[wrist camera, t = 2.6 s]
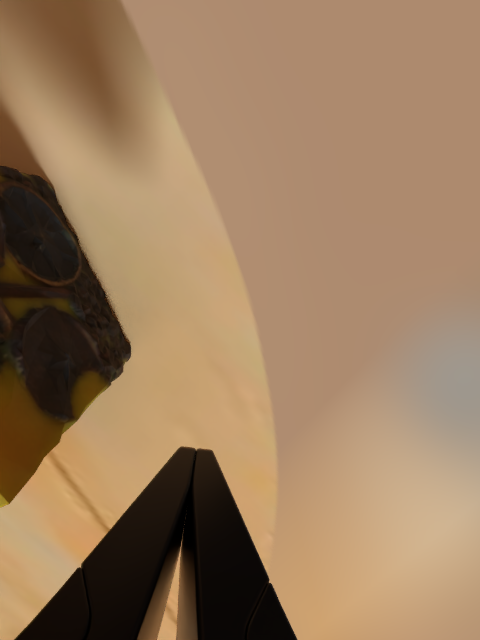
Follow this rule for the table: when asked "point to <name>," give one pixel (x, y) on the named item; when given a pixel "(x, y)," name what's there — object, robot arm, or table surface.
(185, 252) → the table surface
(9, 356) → the spotted yellow cube
